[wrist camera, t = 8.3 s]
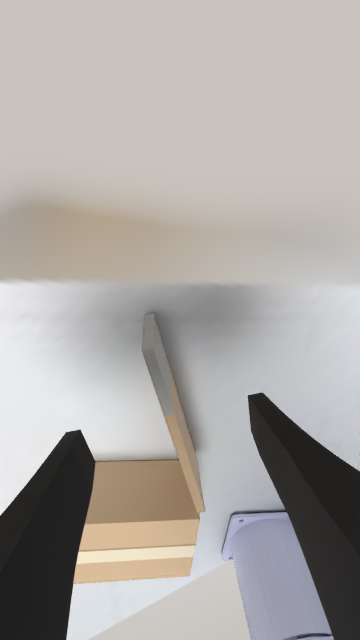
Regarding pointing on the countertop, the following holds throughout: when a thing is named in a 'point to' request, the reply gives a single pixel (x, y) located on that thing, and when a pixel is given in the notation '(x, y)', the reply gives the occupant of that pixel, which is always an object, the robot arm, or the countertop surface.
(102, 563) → the carton
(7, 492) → the countertop surface
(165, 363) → the flap
